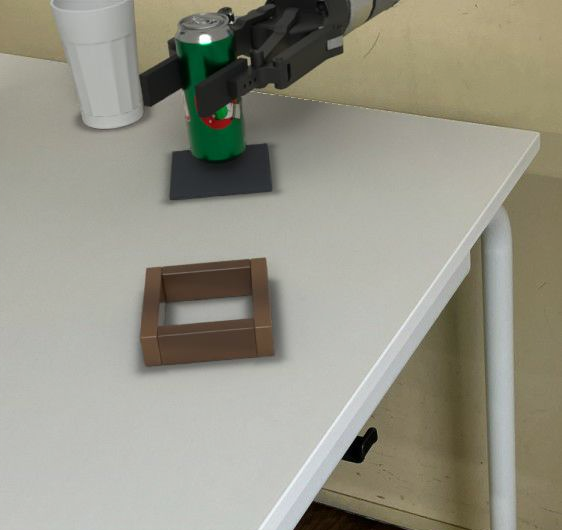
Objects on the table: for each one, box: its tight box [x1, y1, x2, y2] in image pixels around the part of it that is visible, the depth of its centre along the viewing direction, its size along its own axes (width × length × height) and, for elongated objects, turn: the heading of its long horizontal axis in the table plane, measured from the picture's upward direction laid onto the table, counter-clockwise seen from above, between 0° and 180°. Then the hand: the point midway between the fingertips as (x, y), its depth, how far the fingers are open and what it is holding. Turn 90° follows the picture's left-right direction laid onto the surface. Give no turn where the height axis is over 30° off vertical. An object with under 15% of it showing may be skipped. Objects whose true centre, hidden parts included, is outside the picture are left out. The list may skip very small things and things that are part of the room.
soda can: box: [174, 12, 247, 164], centre depth 87 cm, size 5×5×12 cm
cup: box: [49, 0, 145, 130], centre depth 100 cm, size 8×8×12 cm
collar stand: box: [139, 256, 276, 367], centre depth 72 cm, size 9×9×2 cm
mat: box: [169, 142, 273, 201], centre depth 92 cm, size 9×9×1 cm
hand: (172, 96), depth 83 cm, fingers closed on soda can, 5 cm apart
